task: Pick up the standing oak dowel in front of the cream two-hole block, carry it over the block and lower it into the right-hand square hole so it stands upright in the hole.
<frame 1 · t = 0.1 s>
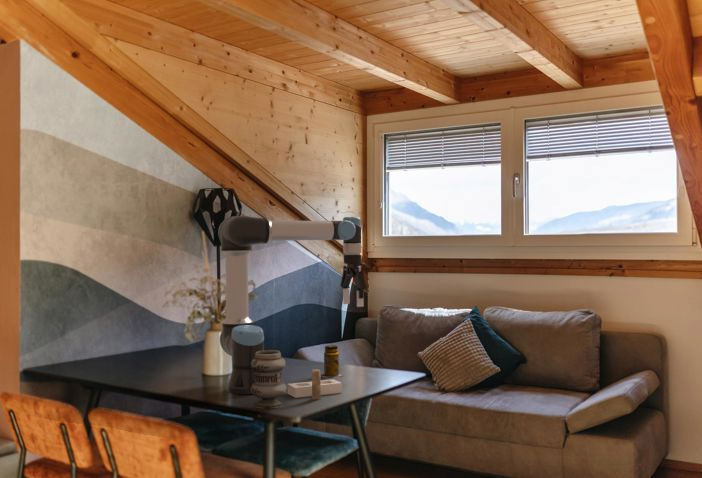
hand: (353, 305, 297), 28 cm above the table, fingers open, 13 cm apart
condiment: (329, 376, 292), on the table
hole block: (314, 393, 258), on the table
apothecary jar: (268, 406, 239), on the table
dowel: (316, 398, 248), on the table
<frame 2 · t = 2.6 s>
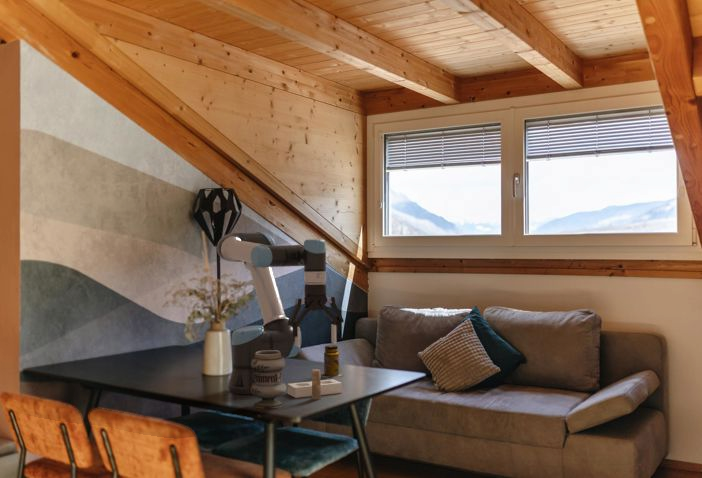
hand: (316, 344, 249), 19 cm above the table, fingers open, 13 cm apart
nothing on the table moved.
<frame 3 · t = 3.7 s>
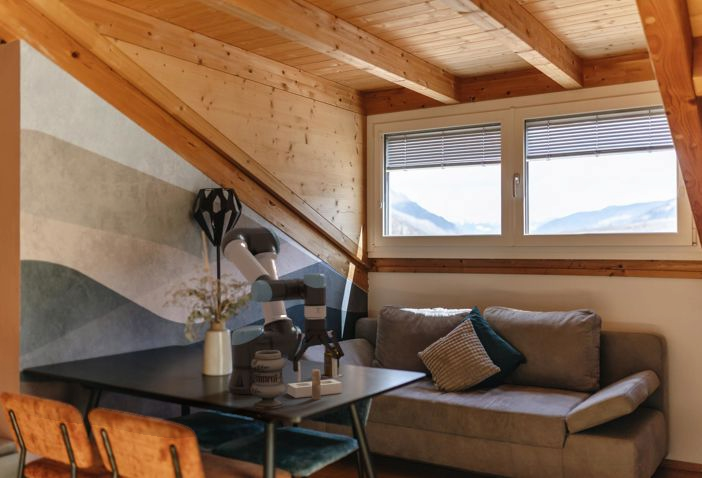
hand: (316, 379, 248), 7 cm above the table, fingers open, 13 cm apart
nothing on the table moved.
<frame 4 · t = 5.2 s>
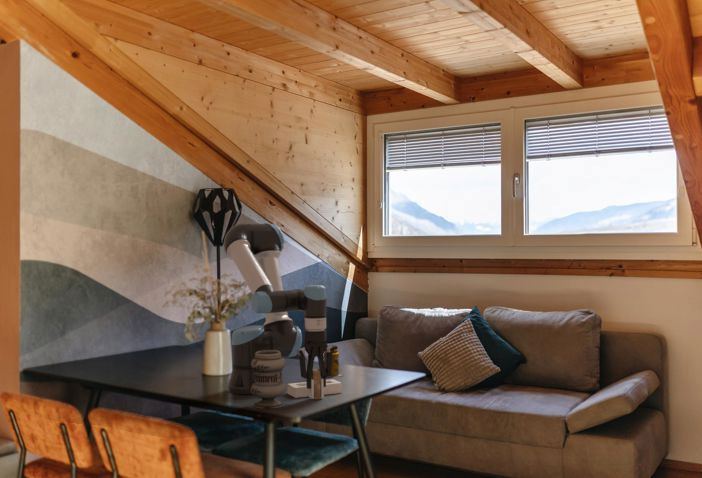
hand: (316, 397, 248), 1 cm above the table, fingers closed on dowel, 3 cm apart
dowel: (316, 398, 248), on the table, touching gripper
everything else where it was.
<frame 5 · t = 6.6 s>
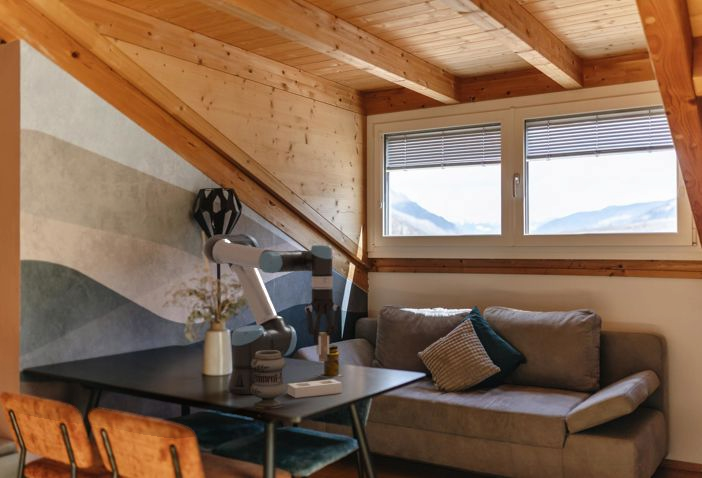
hand: (322, 353, 256), 14 cm above the table, fingers closed on dowel, 2 cm apart
dowel: (323, 360, 256), point 12 cm above the table, touching gripper
everything else where it was.
when the fingers open (5 cm above the table, at t = 8.4 s): dowel drops 2 cm, resting in hole block.
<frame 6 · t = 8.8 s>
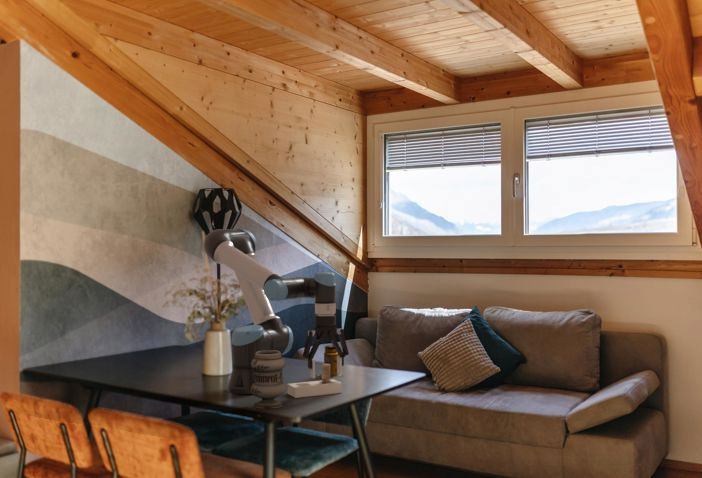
hand: (326, 376, 260), 6 cm above the table, fingers open, 10 cm apart
dowel: (326, 391, 260), resting in hole block
everything else where it was.
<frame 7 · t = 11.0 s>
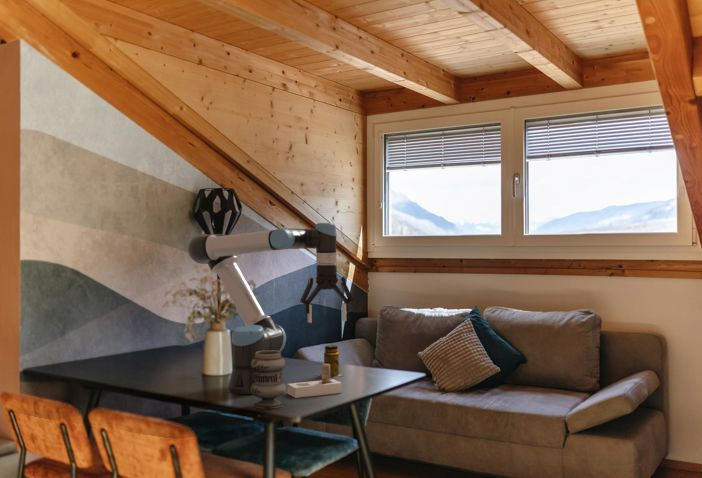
hand: (327, 321, 266), 25 cm above the table, fingers open, 13 cm apart
nothing on the table moved.
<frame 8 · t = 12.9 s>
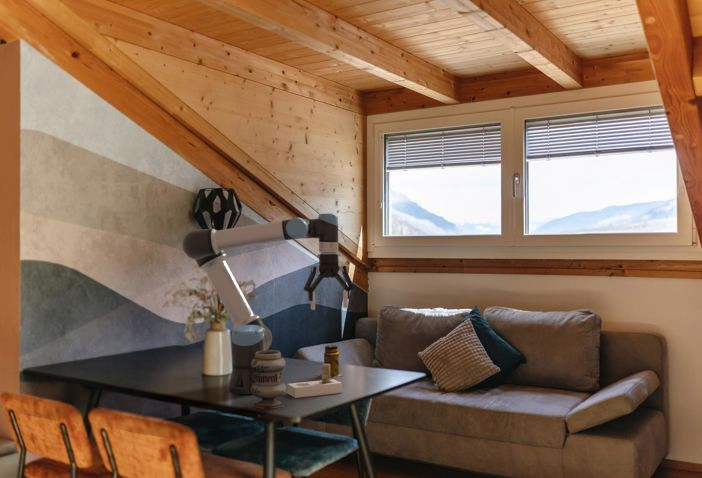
hand: (329, 308, 276), 29 cm above the table, fingers open, 13 cm apart
nothing on the table moved.
at the end: dowel 0.0 cm from the target spot on the hole block, point 0.0 cm above the hole block's base; dowel tilted 0°; the gripper is holding nothing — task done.
